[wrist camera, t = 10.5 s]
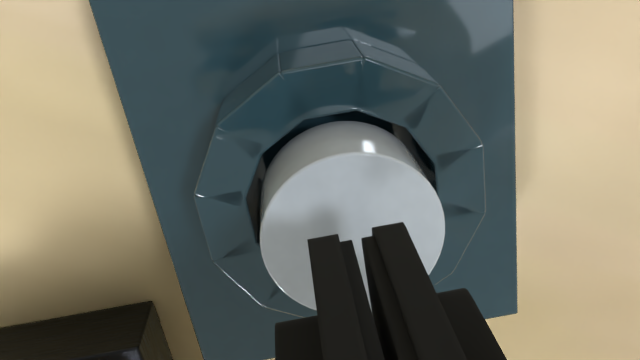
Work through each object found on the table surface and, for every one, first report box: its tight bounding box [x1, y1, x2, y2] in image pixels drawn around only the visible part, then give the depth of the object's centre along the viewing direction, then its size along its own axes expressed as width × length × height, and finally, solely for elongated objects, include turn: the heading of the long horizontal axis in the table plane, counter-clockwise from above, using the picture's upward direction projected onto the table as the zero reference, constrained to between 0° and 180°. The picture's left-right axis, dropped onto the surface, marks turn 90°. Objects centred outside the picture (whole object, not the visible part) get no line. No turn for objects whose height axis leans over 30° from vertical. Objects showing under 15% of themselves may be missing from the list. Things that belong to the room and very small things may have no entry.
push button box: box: [89, 0, 517, 360], centre depth 16 cm, size 12×10×5 cm
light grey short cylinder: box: [260, 121, 445, 312], centre depth 13 cm, size 4×4×2 cm
